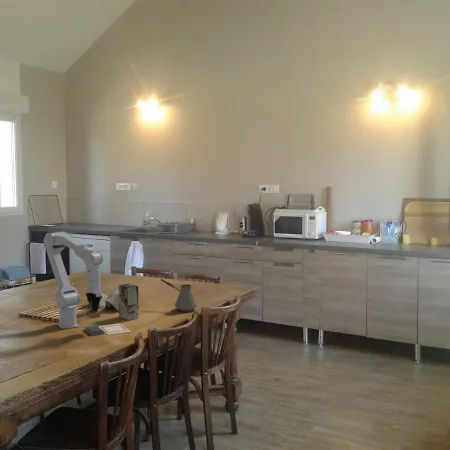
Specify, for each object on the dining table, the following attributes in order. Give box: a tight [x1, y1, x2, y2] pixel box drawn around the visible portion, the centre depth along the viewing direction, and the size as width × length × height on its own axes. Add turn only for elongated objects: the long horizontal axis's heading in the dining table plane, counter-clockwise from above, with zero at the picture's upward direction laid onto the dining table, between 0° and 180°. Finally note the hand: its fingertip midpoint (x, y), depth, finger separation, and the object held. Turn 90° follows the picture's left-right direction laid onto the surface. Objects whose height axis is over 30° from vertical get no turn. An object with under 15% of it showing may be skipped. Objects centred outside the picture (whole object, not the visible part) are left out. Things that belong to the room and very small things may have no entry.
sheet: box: [97, 323, 132, 336], centre depth 252 cm, size 15×10×1 cm
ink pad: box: [83, 325, 105, 337], centre depth 247 cm, size 10×6×2 cm, turn 30°
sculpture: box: [86, 288, 140, 312], centre depth 295 cm, size 25×19×10 cm
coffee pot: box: [159, 278, 198, 312], centre depth 291 cm, size 21×12×15 cm, turn 65°
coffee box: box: [118, 283, 139, 321], centre depth 272 cm, size 9×6×16 cm
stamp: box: [85, 301, 102, 319], centre depth 246 cm, size 6×4×7 cm
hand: (93, 309), depth 246 cm, fingers closed on stamp, 3 cm apart
